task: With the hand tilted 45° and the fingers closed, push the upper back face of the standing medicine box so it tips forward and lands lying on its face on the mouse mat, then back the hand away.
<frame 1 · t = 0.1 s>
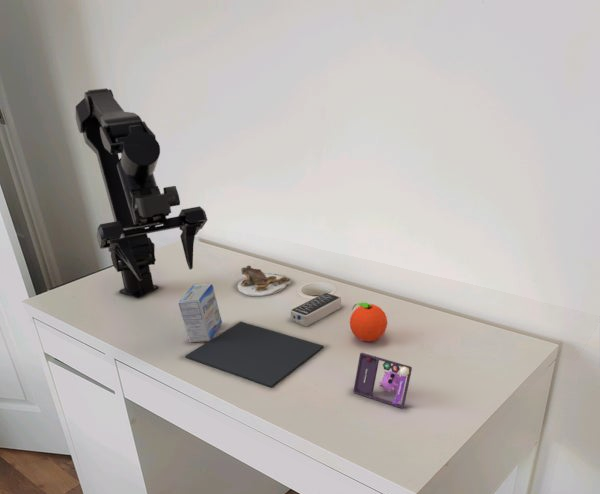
hand: (166, 274, 108), 15 cm above the table, tool tilted 35°, fingers open, 9 cm apart
multiport hub: (316, 314, 126), on the table
clementine: (366, 339, 116), on the table
medicine box: (206, 333, 121), on the table, touching mouse mat
frog figurine: (261, 286, 140), on the table
game card: (384, 394, 100), on the table
mouse mat: (254, 352, 114), on the table
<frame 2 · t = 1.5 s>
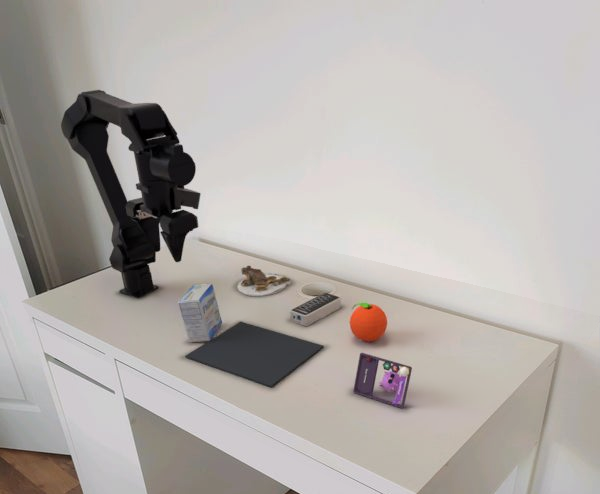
hand: (167, 256, 124), 12 cm above the table, tool pointing down, fingers open, 8 cm apart
nothing on the table moved.
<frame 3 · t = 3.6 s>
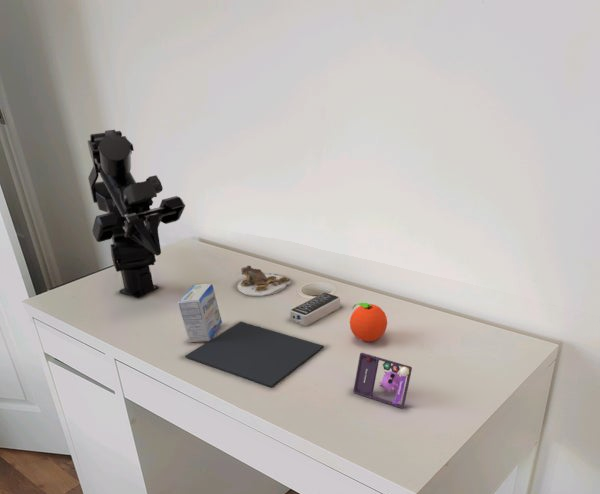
hand: (158, 254, 123), 13 cm above the table, tool tilted 45°, fingers closed
nothing on the table moved.
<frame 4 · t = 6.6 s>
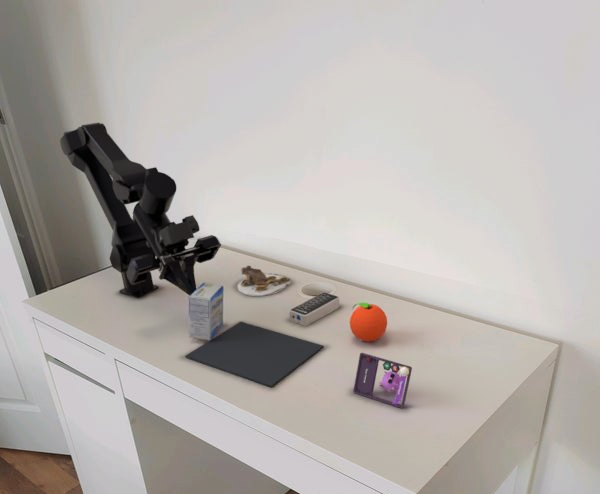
hand: (195, 296, 118), 7 cm above the table, tool tilted 45°, fingers closed
medicine box: (206, 332, 121), on the table, touching gripper, mouse mat
everything else where it was.
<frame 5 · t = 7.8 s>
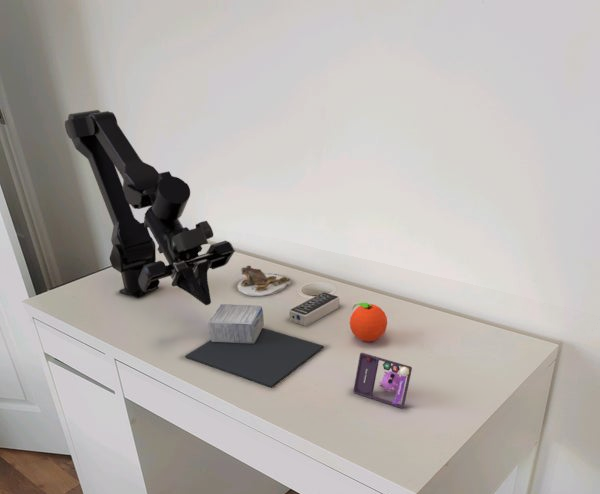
hand: (208, 303, 115), 7 cm above the table, tool tilted 45°, fingers closed
medicine box: (214, 322, 119), point 3 cm above the table, touching mouse mat
everything else where it was.
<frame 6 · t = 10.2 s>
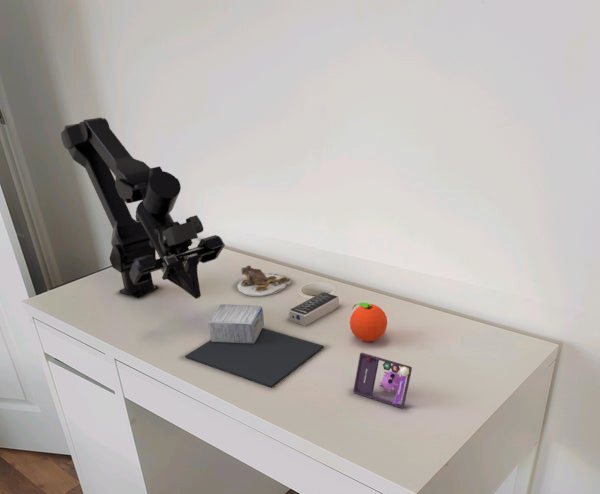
hand: (198, 297, 117), 8 cm above the table, tool tilted 45°, fingers closed
nothing on the table moved.
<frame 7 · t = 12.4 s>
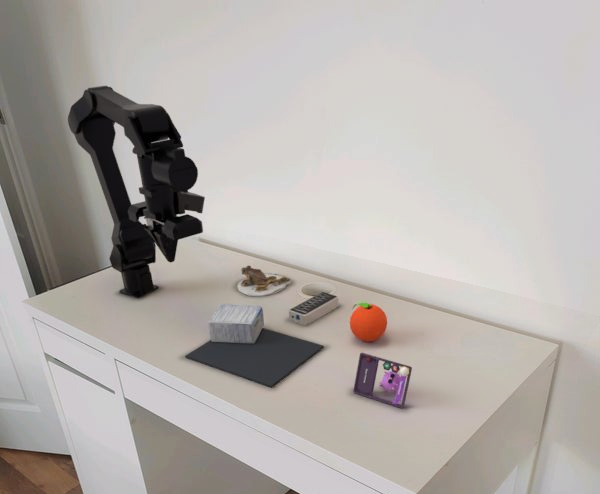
hand: (171, 261, 122), 12 cm above the table, tool pointing down, fingers closed
nothing on the table moved.
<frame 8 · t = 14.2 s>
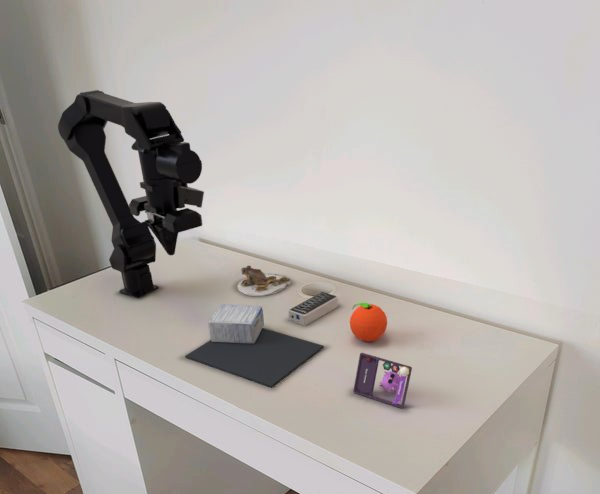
hand: (171, 254, 125), 12 cm above the table, tool pointing down, fingers closed
nothing on the table moved.
at the end: medicine box tilted 90°; medicine box touching mouse mat; the gripper is holding nothing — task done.
